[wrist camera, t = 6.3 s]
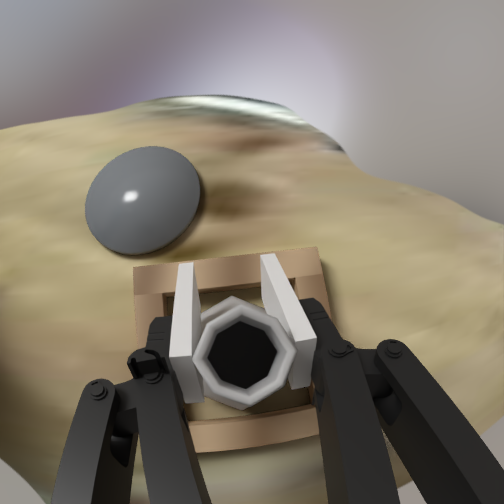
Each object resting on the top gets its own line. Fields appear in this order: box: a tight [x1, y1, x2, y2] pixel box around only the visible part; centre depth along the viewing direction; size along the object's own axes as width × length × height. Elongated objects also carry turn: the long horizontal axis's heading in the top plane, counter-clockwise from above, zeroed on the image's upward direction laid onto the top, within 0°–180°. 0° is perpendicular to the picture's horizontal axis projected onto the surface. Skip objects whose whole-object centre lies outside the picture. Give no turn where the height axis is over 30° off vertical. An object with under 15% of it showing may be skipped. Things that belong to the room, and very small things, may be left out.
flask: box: [192, 296, 298, 410], centre depth 13 cm, size 7×7×10 cm
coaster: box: [85, 146, 200, 255], centre depth 22 cm, size 10×10×1 cm
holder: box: [133, 247, 332, 453], centre depth 18 cm, size 13×13×2 cm
